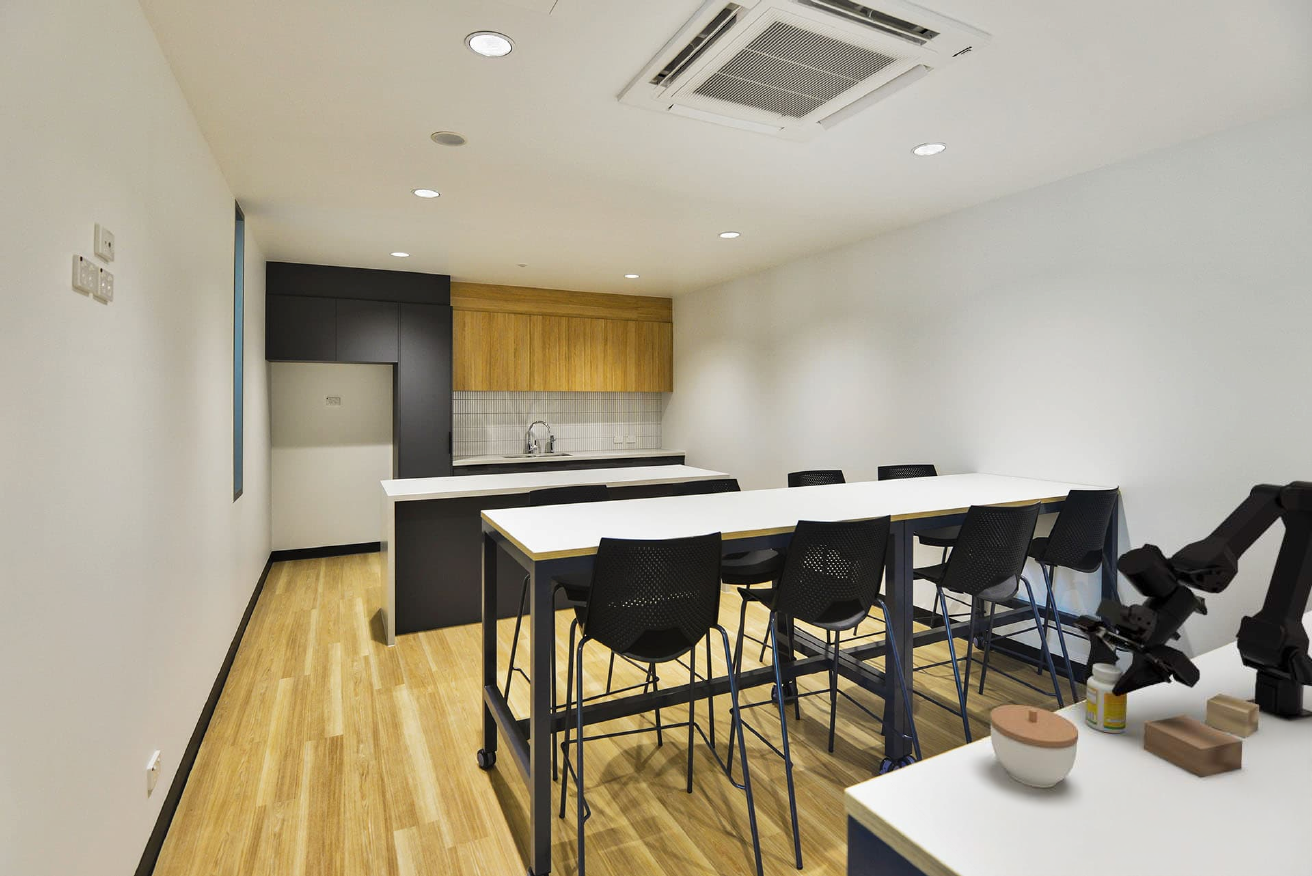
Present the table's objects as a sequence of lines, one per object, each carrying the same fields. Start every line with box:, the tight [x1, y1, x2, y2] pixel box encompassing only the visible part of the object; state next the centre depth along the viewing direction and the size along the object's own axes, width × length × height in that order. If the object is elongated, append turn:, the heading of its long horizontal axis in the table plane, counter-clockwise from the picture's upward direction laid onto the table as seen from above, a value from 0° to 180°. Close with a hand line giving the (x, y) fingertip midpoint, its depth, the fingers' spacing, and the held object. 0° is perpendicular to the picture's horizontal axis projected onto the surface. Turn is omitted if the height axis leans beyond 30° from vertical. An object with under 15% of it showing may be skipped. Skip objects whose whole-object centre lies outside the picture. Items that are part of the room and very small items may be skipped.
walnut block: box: [1143, 715, 1243, 778], centre depth 97 cm, size 8×8×4 cm
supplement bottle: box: [1085, 663, 1128, 734], centre depth 106 cm, size 5×5×10 cm
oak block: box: [1205, 693, 1260, 739], centre depth 106 cm, size 5×5×4 cm
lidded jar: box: [989, 704, 1079, 789], centre depth 92 cm, size 11×11×9 cm
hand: (1099, 686), depth 106 cm, fingers closed on supplement bottle, 5 cm apart
